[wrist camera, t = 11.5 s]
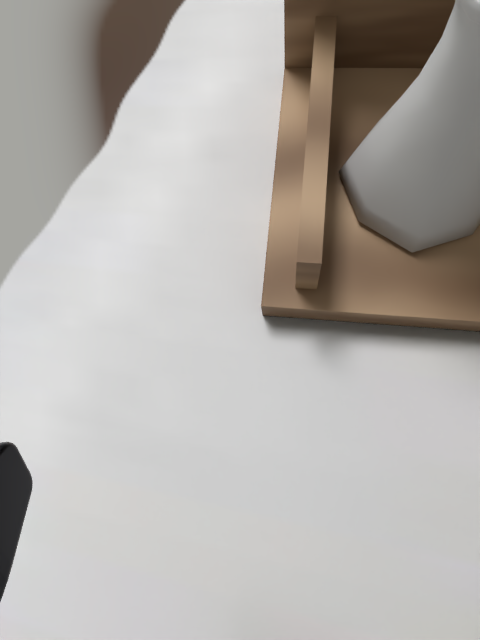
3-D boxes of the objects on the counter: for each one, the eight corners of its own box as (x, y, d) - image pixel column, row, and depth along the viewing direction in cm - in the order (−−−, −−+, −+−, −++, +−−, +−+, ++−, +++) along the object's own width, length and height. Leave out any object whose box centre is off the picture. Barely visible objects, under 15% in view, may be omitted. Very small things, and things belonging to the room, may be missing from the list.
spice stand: (566, 337, 20) (898, 206, 9) (262, 315, 22) (239, 182, 11) (542, 73, 24) (752, -237, 13) (286, 72, 26) (286, -203, 15)
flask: (530, 195, 21) (736, -21, 11) (407, 280, 20) (516, 129, 11) (425, 97, 23) (525, -155, 13) (311, 172, 22) (331, -35, 13)
